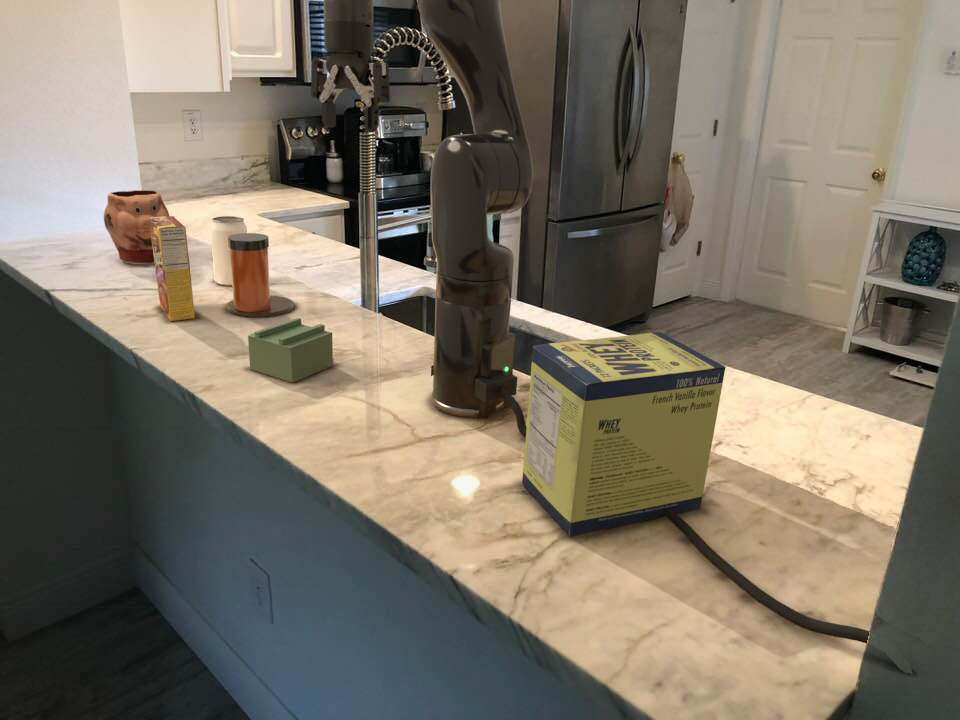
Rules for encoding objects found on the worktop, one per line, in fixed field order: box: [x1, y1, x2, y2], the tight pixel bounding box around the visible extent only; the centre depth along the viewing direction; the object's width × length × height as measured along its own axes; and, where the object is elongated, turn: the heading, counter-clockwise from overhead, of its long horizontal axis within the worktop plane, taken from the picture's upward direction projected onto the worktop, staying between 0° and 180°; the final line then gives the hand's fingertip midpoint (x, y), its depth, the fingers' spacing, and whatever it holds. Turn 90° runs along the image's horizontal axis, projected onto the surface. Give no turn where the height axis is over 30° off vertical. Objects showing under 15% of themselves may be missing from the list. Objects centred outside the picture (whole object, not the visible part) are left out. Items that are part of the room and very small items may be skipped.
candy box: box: [149, 215, 196, 322], centre depth 123 cm, size 9×4×15 cm, turn 31°
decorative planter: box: [103, 189, 170, 265], centre depth 155 cm, size 20×12×14 cm, turn 43°
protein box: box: [521, 331, 726, 537], centre depth 75 cm, size 10×16×16 cm
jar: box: [228, 232, 271, 312], centre depth 127 cm, size 12×6×6 cm
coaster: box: [226, 294, 294, 318], centre depth 131 cm, size 11×11×1 cm
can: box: [210, 215, 248, 287], centre depth 143 cm, size 6×6×12 cm
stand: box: [247, 317, 334, 383], centre depth 105 cm, size 8×8×6 cm
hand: (350, 129), depth 123 cm, fingers open, 8 cm apart
